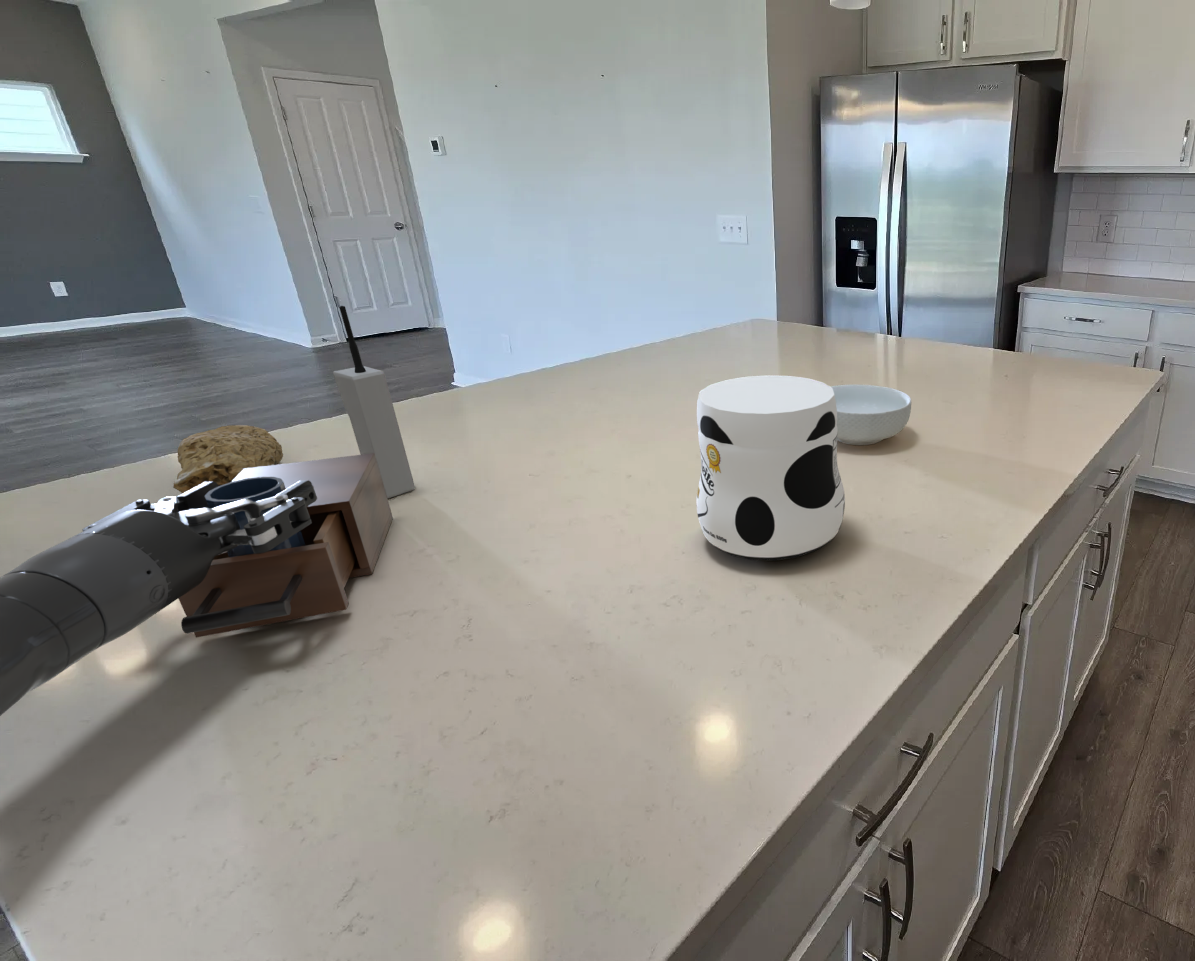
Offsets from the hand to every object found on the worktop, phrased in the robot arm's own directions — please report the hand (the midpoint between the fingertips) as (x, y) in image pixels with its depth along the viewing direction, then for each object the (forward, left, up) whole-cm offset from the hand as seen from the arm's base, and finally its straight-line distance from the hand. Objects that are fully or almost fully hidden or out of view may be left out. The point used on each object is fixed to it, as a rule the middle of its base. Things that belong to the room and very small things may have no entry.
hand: (263, 490), depth 67 cm
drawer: (-1, -2, -11) cm, 11 cm away
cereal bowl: (+72, +22, -12) cm, 77 cm away
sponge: (-17, +40, -12) cm, 45 cm away
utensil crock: (-1, -2, -10) cm, 10 cm away
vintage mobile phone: (+4, +27, -12) cm, 30 cm away
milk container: (+48, -6, -12) cm, 50 cm away
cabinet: (-1, +10, -12) cm, 16 cm away
